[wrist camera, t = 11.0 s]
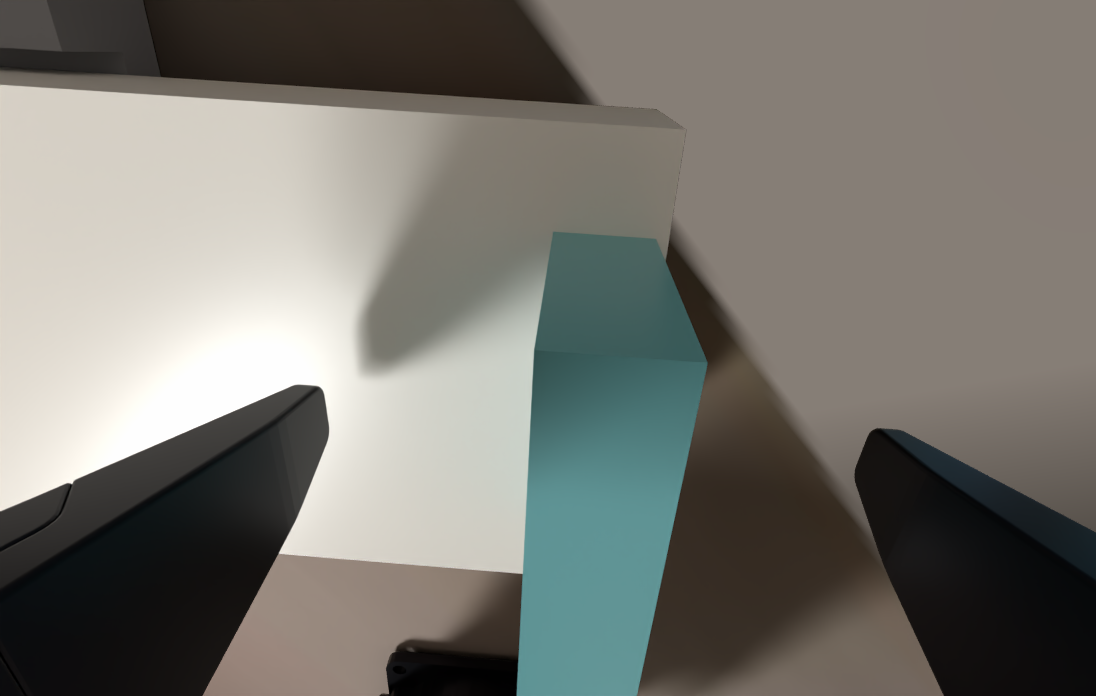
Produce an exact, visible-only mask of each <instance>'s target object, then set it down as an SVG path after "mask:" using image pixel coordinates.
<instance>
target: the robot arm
mask: <svg viewBox="0 0 1096 696" xmlns="http://www.w3.org/2000/svg"><path fill="white" fill-rule="evenodd" d="M328 438H329V422H328V415H327V408H326V401H325V395H324V392H323V390H322V388H320V387H319V386H314V385H301V384H297V385H293V386H290V387H288V388H286V389H283V390H281V391H279V392H277V393H274V394H272V395H270V396H267V397H265V398H263V399H260V400H258V401H256V402H253V403H251V404H249V405H246V406H244V407H242V408H240V409H237V410H235V411H233V412H230V413H228V414H226V415H223V416H221V417H219V418H216V419H214V420H212V421H209V422H207V423H205V424H203V425H200V426H198V427H196V428H193V429H191V430H189V431H186V432H184V433H182V434H179V435H177V436H175V437H172V438H170V439H168V440H166V441H163V442H161V443H159V444H156V445H154V446H152V447H149V448H147V449H145V450H142V451H140V452H138V453H135V454H133V455H131V456H129V457H126V458H124V459H122V460H119V461H117V462H115V463H112V464H110V465H108V466H105V467H103V468H101V469H98V470H96V471H94V472H92V473H89V474H87V475H85V476H82V477H80V478H78V479H75V480H74V481H73V483H72V484H71V483H66V484H63V485H61V486H59V487H56V488H54V489H52V490H50V491H47V492H45V493H43V494H40V495H38V496H36V497H33V498H31V499H28V500H26V501H24V502H21V503H19V504H17V505H14V506H12V507H9V508H7V509H5V510H2V511H0V696H202V695H203V694H204V692H205V690H206V688H207V686H208V684H209V682H210V680H211V679H212V677H213V675H214V673H215V671H216V669H217V667H218V666H219V664H220V662H221V660H222V658H223V656H224V654H225V652H226V651H227V649H228V647H229V645H230V643H231V641H232V639H233V638H234V636H235V634H236V632H237V630H238V628H239V626H240V624H241V623H242V621H243V619H244V617H245V615H246V613H247V611H248V610H249V608H250V606H251V604H252V602H253V600H254V598H255V596H256V595H257V593H258V591H259V589H260V587H261V585H262V583H263V582H264V580H265V578H266V576H267V574H268V572H269V570H270V568H271V567H272V565H273V563H274V561H275V559H276V557H277V555H278V554H279V552H280V550H281V548H282V546H283V544H284V542H285V540H286V539H287V537H288V535H289V533H290V531H291V529H292V527H293V525H294V523H295V521H296V519H297V517H298V515H299V512H300V510H301V508H302V505H303V503H304V500H305V498H306V495H307V492H308V490H309V487H310V485H311V482H312V480H313V477H314V475H315V472H316V470H317V467H318V465H319V462H320V460H321V457H322V454H323V452H324V449H325V447H326V444H327V442H328ZM855 483H856V486H857V489H858V492H859V495H860V498H861V501H862V504H863V507H864V510H865V513H866V516H867V519H868V522H869V525H870V527H871V530H872V533H873V536H874V539H875V542H876V545H877V548H878V551H879V554H880V556H881V559H882V562H883V564H884V567H885V569H886V572H887V574H888V576H889V579H890V581H891V583H892V585H893V587H894V590H895V592H896V594H897V596H898V598H899V600H900V602H901V605H902V607H903V609H904V611H905V613H906V615H907V618H908V620H909V622H910V624H911V626H912V628H913V630H914V633H915V635H916V637H917V639H918V641H919V643H920V646H921V648H922V650H923V652H924V654H925V656H926V658H927V661H928V663H929V665H930V667H931V669H932V671H933V674H934V676H935V678H936V680H937V682H938V684H939V686H940V689H941V691H942V693H943V695H944V696H1096V532H1094V531H1092V530H1090V529H1088V528H1086V527H1084V526H1082V525H1081V524H1079V523H1077V522H1075V521H1073V520H1071V519H1069V518H1067V517H1065V516H1064V515H1062V514H1060V513H1058V512H1056V511H1054V510H1052V509H1050V508H1048V507H1046V506H1045V505H1043V504H1041V503H1039V502H1037V501H1035V500H1033V499H1031V498H1029V497H1027V496H1026V495H1024V494H1022V493H1020V492H1018V491H1016V490H1014V489H1012V488H1010V487H1008V486H1006V485H1005V484H1003V483H1001V482H999V481H997V480H995V479H993V478H991V477H989V476H988V475H985V474H984V473H982V472H980V471H978V470H976V469H974V468H972V467H970V466H968V465H966V464H965V463H963V462H961V461H959V460H957V459H955V458H953V457H951V456H949V455H948V454H946V453H944V452H942V451H940V450H938V449H936V448H934V447H932V446H931V445H929V444H927V443H925V442H923V441H921V440H919V439H917V438H915V437H913V436H911V435H910V434H908V433H906V432H904V431H901V430H893V429H881V428H877V429H874V430H872V431H871V432H870V433H869V435H868V437H867V440H866V442H865V445H864V447H863V450H862V452H861V455H860V457H859V460H858V463H857V465H856V468H855ZM386 671H387V680H388V688H389V694H381V695H380V696H517V679H518V661H507V660H496V659H484V658H472V657H461V656H449V655H437V654H425V653H414V652H402V651H401V652H394V653H392V654H391V655H390V657H389V660H388V664H387V667H386Z"/></svg>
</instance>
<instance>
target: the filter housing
mask: <svg viewBox="0 0 1096 696" xmlns="http://www.w3.org/2000/svg"><path fill="white" fill-rule="evenodd" d="M0 67H11V68H26V69H41V70H57V71H72V72H88V73H103V74H119V75H134V76H150V77H161V75H160V71H159V67H158V62H157V58H156V54H155V50H154V45H153V41H152V37H151V33H150V28H149V24H148V20H147V16H146V11H145V7H144V3H143V0H0Z"/></svg>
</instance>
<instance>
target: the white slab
mask: <svg viewBox="0 0 1096 696" xmlns="http://www.w3.org/2000/svg"><path fill="white" fill-rule="evenodd" d="M685 136H686V129H685V128H683V127H682V126H680V125H679V124H677V123H676V122H674V121H673V120H671V119H669V118H668V117H667V116H665V115H664V114H663V113H661V112H660V111H658V110H657V109H644V108H628V107H614V106H613V107H612V106H598V105H583V104H567V103H552V102H536V101H521V100H505V99H490V98H474V97H459V96H443V95H428V94H413V93H397V92H382V91H366V90H351V89H335V88H320V87H304V86H289V85H273V84H258V83H242V82H227V81H212V80H196V79H181V78H165V77H150V76H134V75H119V74H103V73H88V72H72V71H57V70H41V69H26V68H11V67H0V511H2V510H5V509H7V508H9V507H12V506H14V505H17V504H19V503H21V502H24V501H26V500H28V499H31V498H33V497H36V496H38V495H40V494H43V493H45V492H47V491H50V490H52V489H54V488H56V487H59V486H61V485H63V484H66V483H71V484H72V483H73V481H74V480H75V479H78V478H80V477H82V476H85V475H87V474H89V473H92V472H94V471H96V470H98V469H101V468H103V467H105V466H108V465H110V464H112V463H115V462H117V461H119V460H122V459H124V458H126V457H129V456H131V455H133V454H135V453H138V452H140V451H142V450H145V449H147V448H149V447H152V446H154V445H156V444H159V443H161V442H163V441H166V440H168V439H170V438H172V437H175V436H177V435H179V434H182V433H184V432H186V431H189V430H191V429H193V428H196V427H198V426H200V425H203V424H205V423H207V422H209V421H212V420H214V419H216V418H219V417H221V416H223V415H226V414H228V413H230V412H233V411H235V410H237V409H240V408H242V407H244V406H246V405H249V404H251V403H253V402H256V401H258V400H260V399H263V398H265V397H267V396H270V395H272V394H274V393H277V392H279V391H281V390H283V389H286V388H288V387H290V386H293V385H297V384H301V385H314V386H319V387H320V388H322V390H323V392H324V395H325V401H326V408H327V415H328V422H329V438H328V442H327V444H326V447H325V449H324V452H323V454H322V457H321V460H320V462H319V465H318V467H317V470H316V472H315V475H314V477H313V480H312V482H311V485H310V487H309V490H308V492H307V495H306V498H305V500H304V503H303V505H302V508H301V510H300V512H299V515H298V517H297V519H296V521H295V523H294V525H293V527H292V529H291V531H290V533H289V535H288V537H287V539H286V540H285V542H284V544H283V546H282V548H281V550H280V552H279V554H288V555H300V556H312V557H325V558H337V559H349V560H361V561H373V562H385V563H398V564H410V565H422V566H434V567H446V568H458V569H471V570H483V571H495V572H507V573H519V574H523V579H522V599H521V619H520V639H519V659H518V679H517V696H637V693H638V688H639V683H640V679H641V674H642V669H643V664H644V660H645V655H646V650H647V646H648V641H649V636H650V632H651V627H652V622H653V618H654V613H655V608H656V603H657V599H658V594H659V589H660V585H661V580H662V575H663V571H664V566H665V561H666V556H667V552H668V547H669V542H670V538H671V533H672V528H673V524H674V519H675V514H676V510H677V505H678V500H679V495H680V491H681V486H682V481H683V477H684V472H685V467H686V463H687V458H688V453H689V449H690V444H691V439H692V434H693V430H694V425H695V420H696V416H697V411H698V406H699V402H700V397H701V392H702V387H703V383H704V378H705V373H706V369H707V364H708V362H707V360H706V358H705V355H704V353H703V350H702V348H701V346H700V343H699V341H698V338H697V336H696V334H695V331H694V329H693V326H692V324H691V321H690V319H689V317H688V314H687V312H686V309H685V307H684V305H683V302H682V300H681V297H680V295H679V293H678V290H677V288H676V285H675V283H674V281H673V278H672V276H671V273H670V271H669V269H668V266H667V264H666V256H667V250H668V243H669V237H670V231H671V224H672V218H673V211H674V205H675V198H676V192H677V186H678V180H679V174H680V167H681V161H682V155H683V148H684V142H685Z"/></svg>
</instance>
